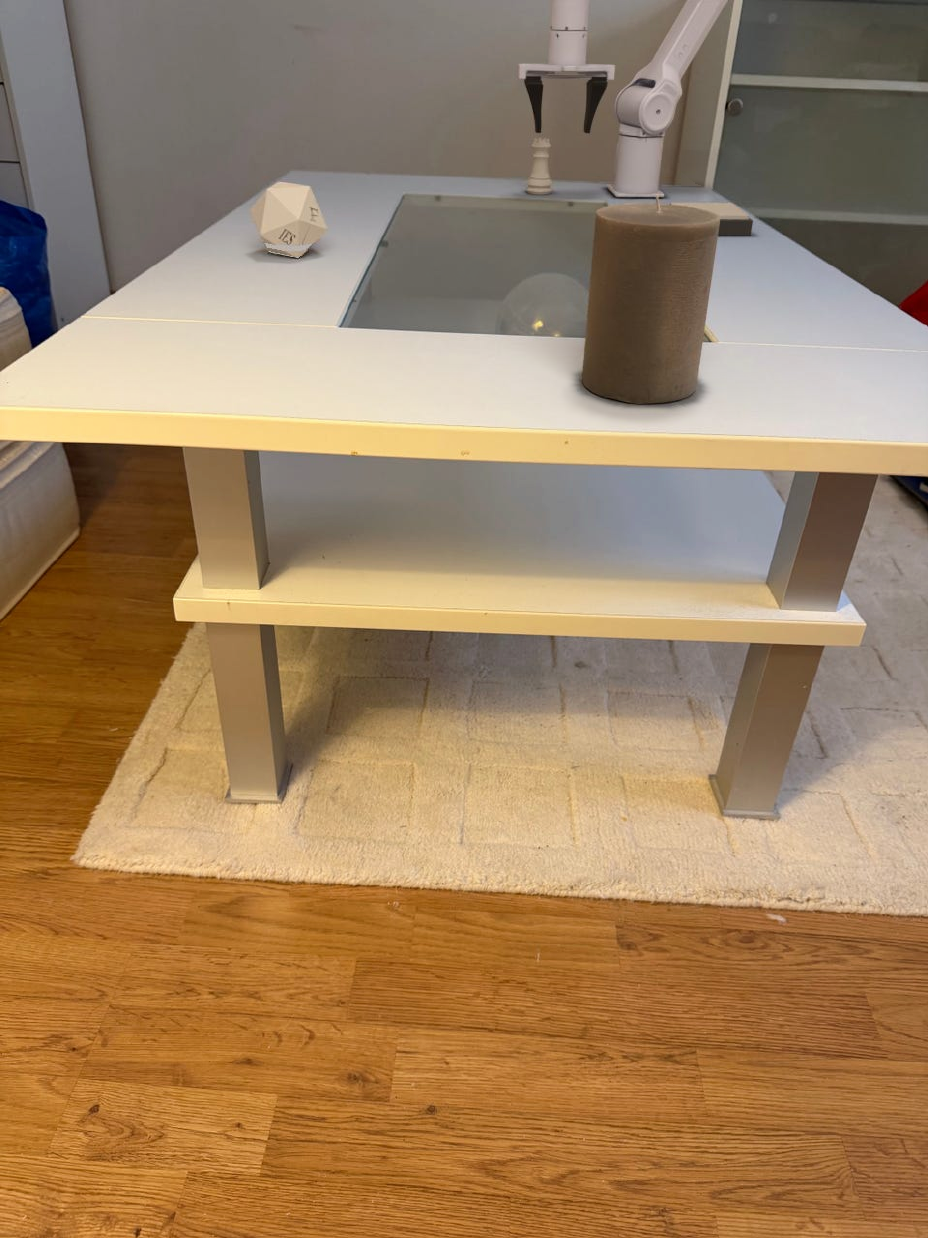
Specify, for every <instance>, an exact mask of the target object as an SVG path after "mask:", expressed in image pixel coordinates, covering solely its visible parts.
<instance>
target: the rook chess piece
mask: <svg viewBox="0 0 928 1238" xmlns="http://www.w3.org/2000/svg"><path fill="white" fill-rule="evenodd" d="M531 148H532V150H533V154H532V156H531V157H532V166H531V172H530V175H529V178H528V179H527V180H526V185H527V186H528V187H527V188H525V190H526V193H528V194H529V195H535V196H536V195H539V196H540V195H543V196H544V195H549V194H551V193H552V191H553V188H552V187H551V186H552V185H553V181H552V178H551V176H550V172H549V158H550V154H549V151H550V149H551V148H552V144H551V143H550V138H546V137H543V139H542V137H538V138H537V137H535V138H534V139H533V142H532V143H531Z"/></svg>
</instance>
